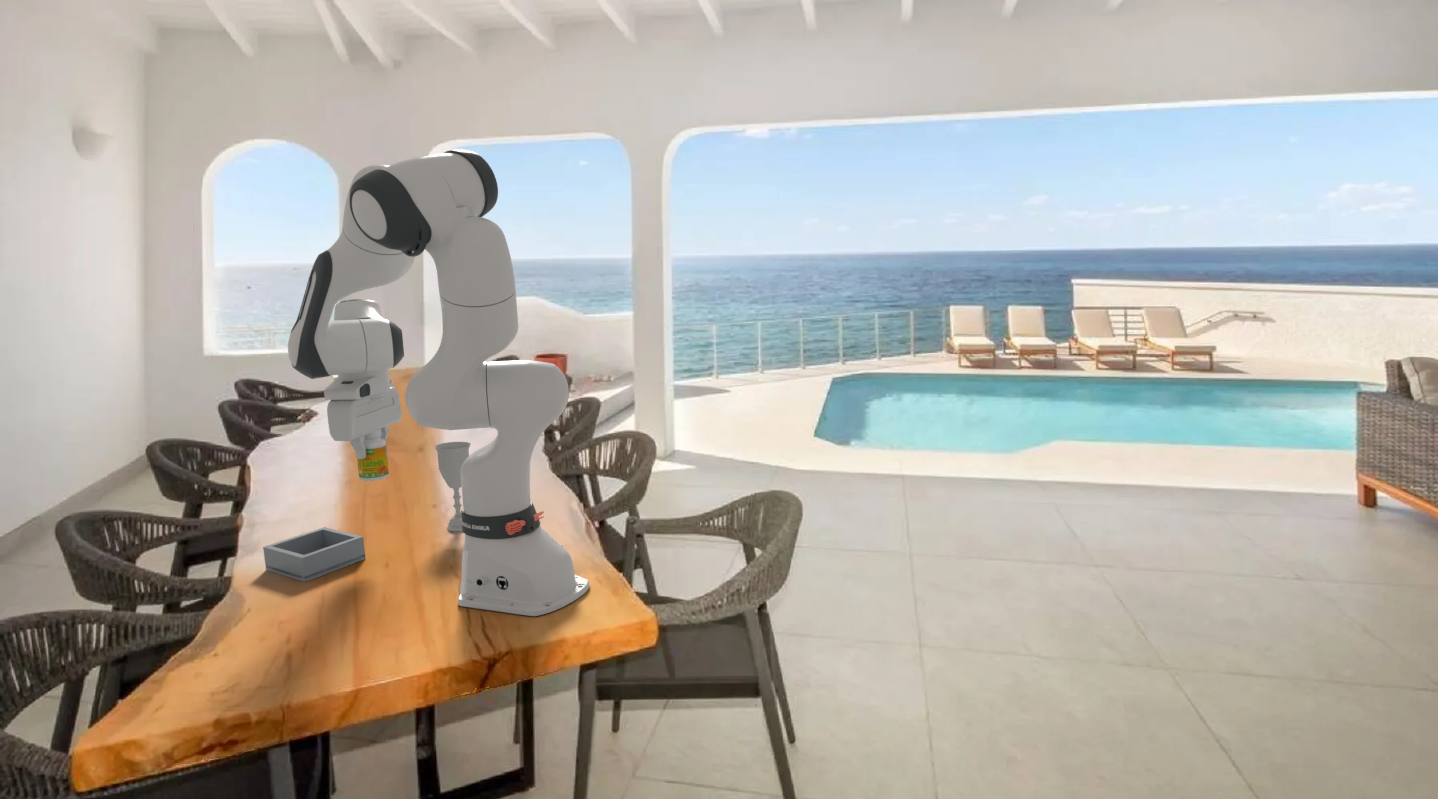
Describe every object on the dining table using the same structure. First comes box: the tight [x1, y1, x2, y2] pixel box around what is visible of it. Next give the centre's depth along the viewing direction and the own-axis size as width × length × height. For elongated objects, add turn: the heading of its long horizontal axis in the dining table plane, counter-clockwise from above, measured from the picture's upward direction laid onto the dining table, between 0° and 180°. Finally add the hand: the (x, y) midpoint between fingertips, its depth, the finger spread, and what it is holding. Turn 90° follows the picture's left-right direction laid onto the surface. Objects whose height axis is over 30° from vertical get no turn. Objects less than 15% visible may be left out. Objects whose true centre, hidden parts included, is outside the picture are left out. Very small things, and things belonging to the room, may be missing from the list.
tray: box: [262, 527, 366, 583], centre depth 141 cm, size 12×12×4 cm
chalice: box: [434, 441, 471, 532], centre depth 159 cm, size 7×7×18 cm
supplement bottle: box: [356, 429, 390, 482], centre depth 147 cm, size 5×5×10 cm
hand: (371, 453), depth 147 cm, fingers closed on supplement bottle, 5 cm apart
